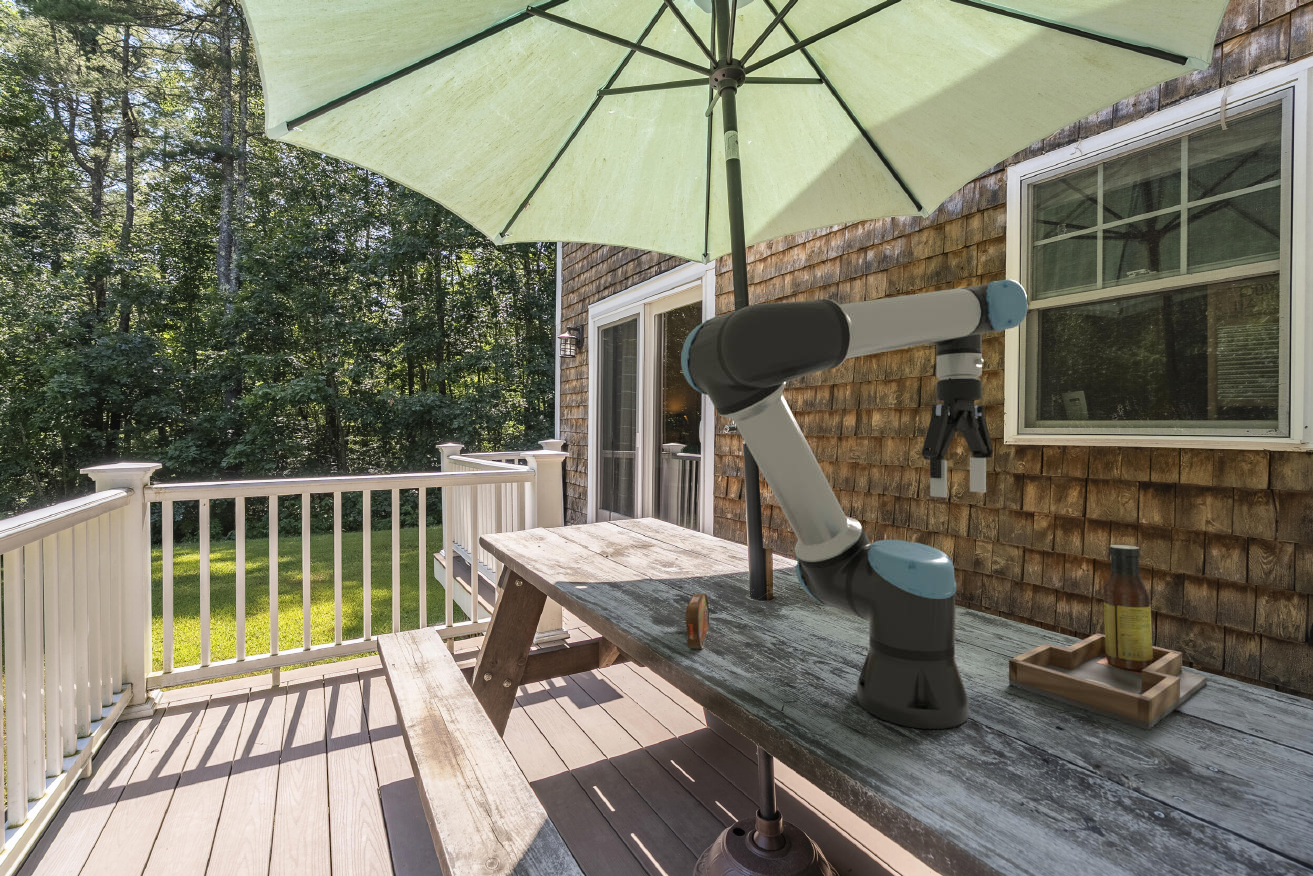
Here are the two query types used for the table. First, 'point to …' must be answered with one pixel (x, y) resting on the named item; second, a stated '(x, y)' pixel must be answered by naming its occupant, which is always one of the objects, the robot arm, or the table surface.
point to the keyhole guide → (1106, 681)
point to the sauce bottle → (1127, 612)
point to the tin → (697, 620)
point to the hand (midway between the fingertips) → (958, 494)
